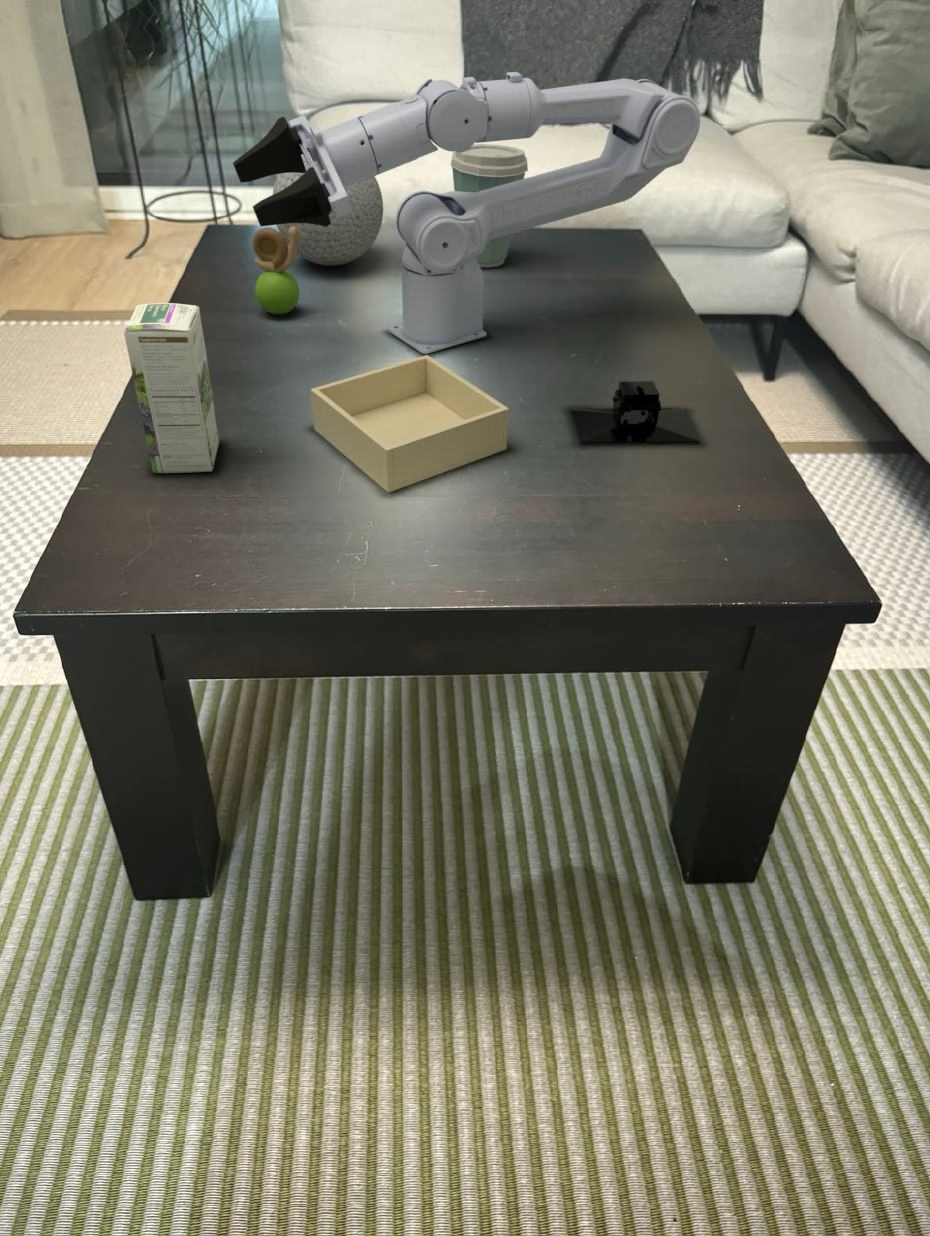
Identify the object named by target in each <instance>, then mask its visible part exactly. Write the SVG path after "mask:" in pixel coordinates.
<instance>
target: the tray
mask: <svg viewBox="0 0 930 1236" xmlns="http://www.w3.org/2000/svg"><path fill="white" fill-rule="evenodd" d="M310 396H311V397H310V398H311V408H312V418H313V428H314V431H315V432H317V433H318V434H319V435H320V436H321V437H322V438H323V439H324V440H326V441H327V442H328V443H330V444H331V445H332V446H333V447H334V448H335V449H336V450H337V451H339V452H340V453H341V454H342V455H343V456H345V457H346V459H348V460H349V461H350V462H352V464H354V465H355V466H356V467H358V469H360V470H361V472H363V473H364V474H366V475H367V476H368V477H369V478H370V479H371V480H373V481H374V482H375V483H376V484H377V485H378V486H379V487H380V488H382V489H383V490H384V491H385V492H387V493H392V492H394V491H397V490H400V489H402V488H405V487H408V486H411V485H413V484H415V483H416V484H417V483H419V482H421V481H424V480H427V479H429V478H432V477H435V476H439V475H440V474H443V473H446V472H449V471H451V470H454V469H456V468H460V467H462V466H465V465H468V464H470V463H473V462H475V461H478V460H482V459H485V458H486V457H489V456H492V455H494V454H498V453H500V452H503V451H505V450H507V447H508V445H507V444H508V431H509V414H510V407H507V406H506V405H504V404H502V403H501V402H500V401H499V400H497V399H495V398H493V397H492V396H491V395H489V394H488V393H486V392H485V391H483V390H482V389H480V388H479V387H477V386H475V385H474V384H472V383H471V382H469V381H468V380H467V379H465V378H463V377H461V375H459V374H458V373H455V371H453V370H451V368H448V367H447V366H445V365H443V364H442V363H441V362H439V361H437V360H436V359H434V358H432V357H431V356H430V355H428V354H424V355H423V356H419V357H416V358H411V359H409V360H405V361H402V362H399V363H395V364H392V365H388V366H385V367H381V368H378V369H375V370H371V371H367V372H364V373H361V374H357V375H354V376H350V377H348V378H344V379H340V380H337V381H334V382H331V383H326V384H323V385H320V386H317V387H313V388H310Z"/></svg>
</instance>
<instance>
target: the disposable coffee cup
mask: <svg viewBox="0 0 930 1236" xmlns="http://www.w3.org/2000/svg"><path fill="white" fill-rule="evenodd" d="M451 154H452V155H451V160H450V167H452V168H451V169H452V180H453V191H461V192H473V193H474V192H479V191H482V190H486V189H490V188H493V187H497V186H500V185H504V184H507V183H511V182H515V181H518V180H522V179H525V176H526V172H528V171H529V168H528V158H527V156H526V153H525V151H524V149H521V148H517V147H514V146H508V145H504V144H503V145H502V144H489V143H474V144H473V145H472V146H471V147H470V148H469V149H467V150H466V151H464V152H462V153H458V152H455V151H454V152H452V153H451ZM511 238H512V234H508V235H505V236H502V237H498V238H495V239H491V240H489V242H488V243H487V245H486V247H485V249H484V251H483V252H482V253H481V254H478V255H475V256H472V257H473V258H474V259H475V260H476V261H477V263H478V264H479V266H480V268H495V267H500V266H501V265H503V264H504V263H505V259H507V256H508V252H509V248H510V243H511Z"/></svg>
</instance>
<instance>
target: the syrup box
mask: <svg viewBox="0 0 930 1236" xmlns="http://www.w3.org/2000/svg"><path fill="white" fill-rule="evenodd" d="M123 335H124V340H125V345H126V350H127V354H128V358H129V364H130V369H131V374H132V378H133V383H134V389H135V393H136V397H137V402H138V407H139V411H140V416H141V417H140V418H141V421H142V425H143V430H144V436H145V440H146V445H147V449H148V454H149V459H150V463H151V469H152V472H153V473H155V474H174V473H175V474H180V473H181V474H182V473H183V474H184V473H209V472H213V471H214V467H215V463H216V459H217V455H218V450H219V446H220V434H219V428H218V427H219V426H218V421H217V414H216V408H215V402H214V401H215V400H214V394H213V389H212V381H211V375H210V368H209V362H208V355H207V349H206V344H205V337H204V331H203V324H202V318H201V311H200V307H199V306H197V305H194V304H185V303H176V302H175V303H173V302H157V303H156V302H153V303H143V304H136V306H135V309H134V310H133V313H132V315H131V316H130V319H129V321H128V324H127V326H126V327H125V330H124V332H123Z"/></svg>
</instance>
